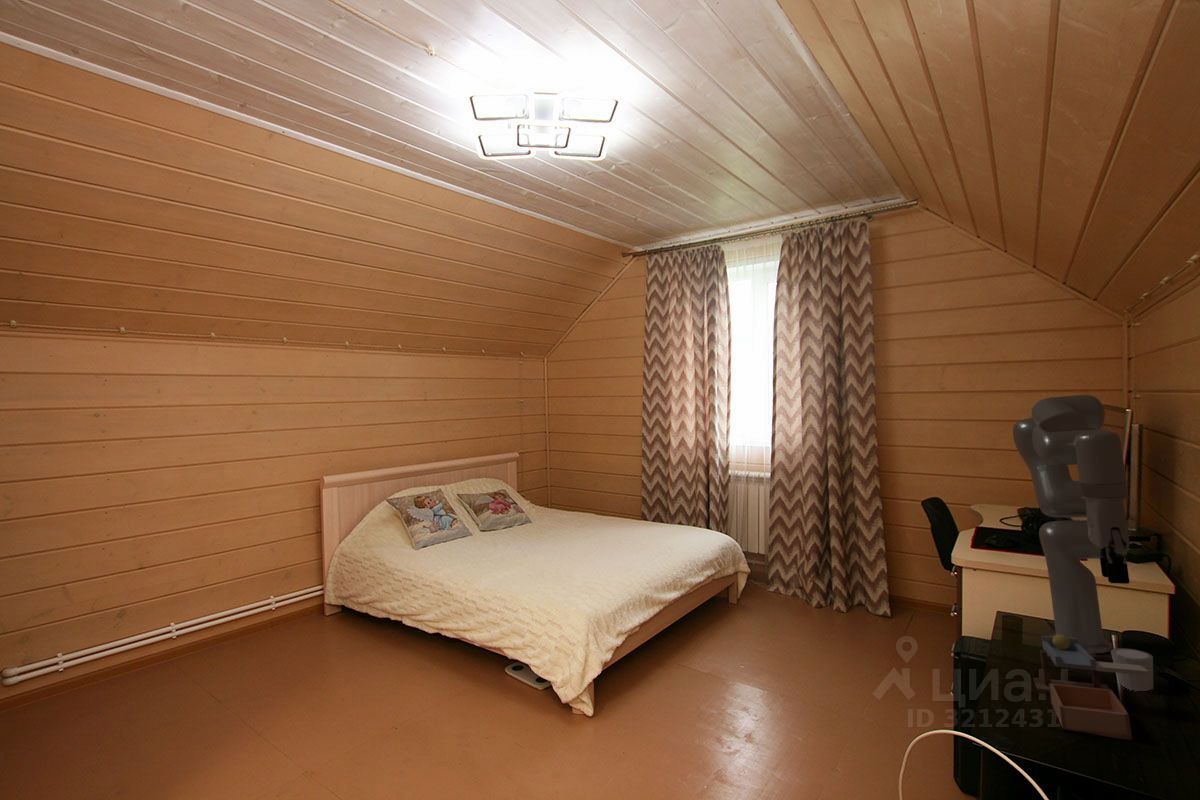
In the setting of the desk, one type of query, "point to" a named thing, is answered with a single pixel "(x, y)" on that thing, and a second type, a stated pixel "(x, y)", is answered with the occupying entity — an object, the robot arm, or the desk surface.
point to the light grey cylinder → (1134, 658)
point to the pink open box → (1090, 711)
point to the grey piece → (1085, 659)
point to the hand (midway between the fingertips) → (1115, 579)
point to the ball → (1061, 642)
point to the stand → (1043, 684)
